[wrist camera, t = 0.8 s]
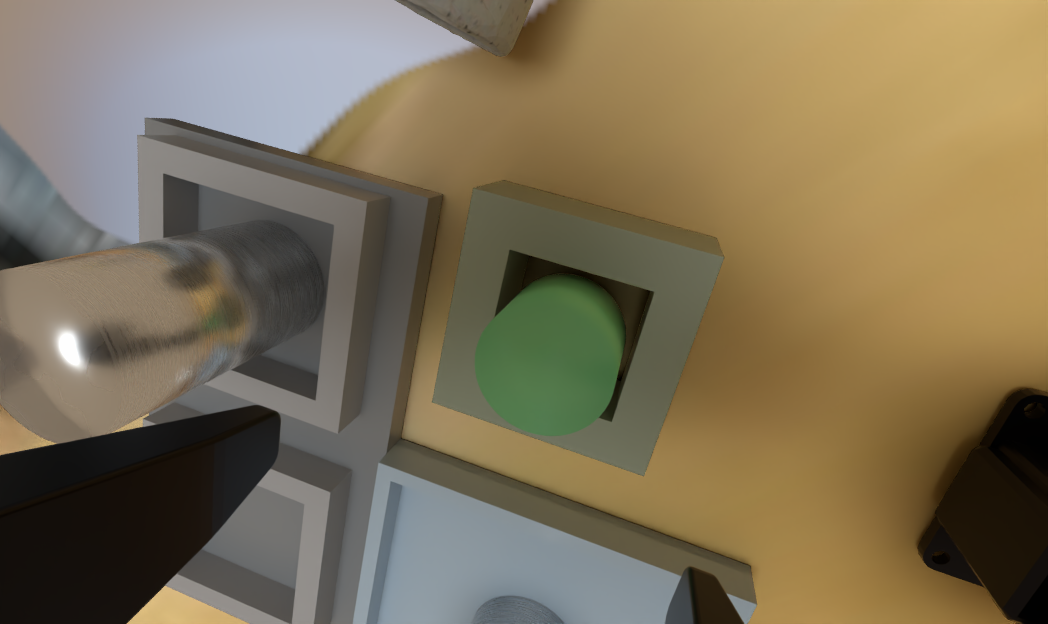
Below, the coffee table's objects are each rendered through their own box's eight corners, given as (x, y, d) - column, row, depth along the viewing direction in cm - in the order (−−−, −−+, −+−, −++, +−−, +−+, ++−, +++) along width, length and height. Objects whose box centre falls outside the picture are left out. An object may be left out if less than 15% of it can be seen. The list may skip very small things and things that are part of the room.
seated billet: (330, 238, 19) (115, 302, 12) (318, 351, 21) (121, 470, 13) (222, 205, 20) (-45, 245, 13) (218, 316, 21) (-22, 411, 14)
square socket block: (716, 237, 17) (724, 257, 14) (648, 428, 20) (643, 476, 17) (503, 180, 18) (473, 188, 16) (464, 366, 21) (432, 402, 18)
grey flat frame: (442, 194, 19) (407, 203, 16) (369, 616, 26) (336, 667, 23) (172, 118, 21) (104, 116, 18) (171, 532, 28) (122, 571, 25)
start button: (641, 294, 16) (634, 327, 13) (606, 403, 17) (593, 455, 14) (521, 258, 16) (489, 283, 14) (496, 366, 18) (463, 409, 15)
